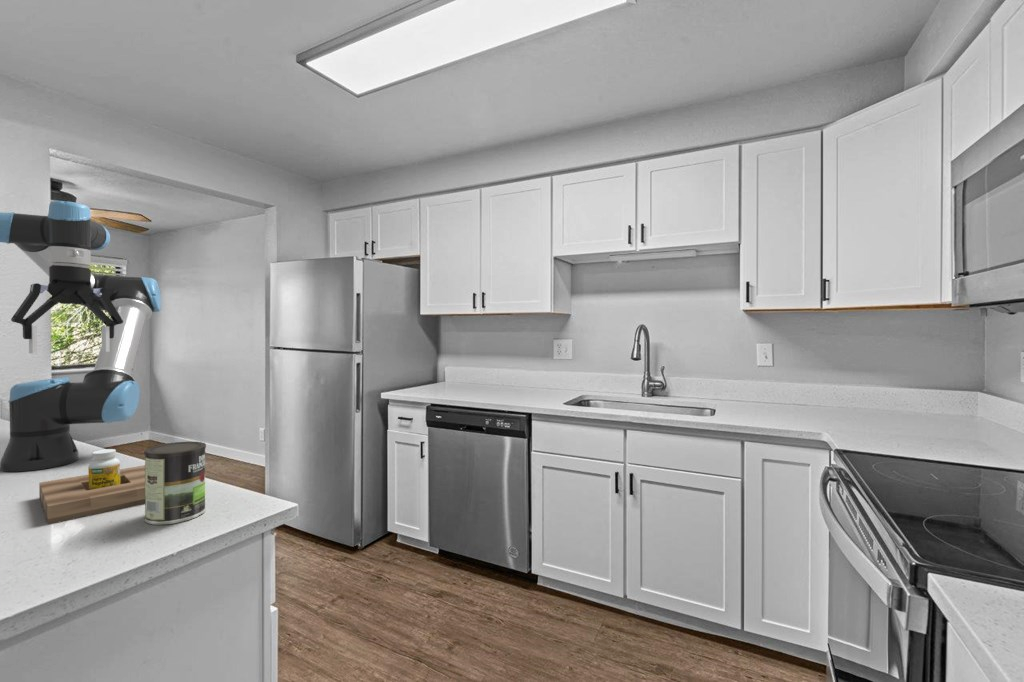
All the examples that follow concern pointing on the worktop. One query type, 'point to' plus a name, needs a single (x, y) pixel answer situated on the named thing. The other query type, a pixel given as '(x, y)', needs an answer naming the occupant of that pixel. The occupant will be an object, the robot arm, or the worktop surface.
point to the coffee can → (174, 482)
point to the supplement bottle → (104, 469)
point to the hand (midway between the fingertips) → (71, 352)
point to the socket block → (90, 495)
